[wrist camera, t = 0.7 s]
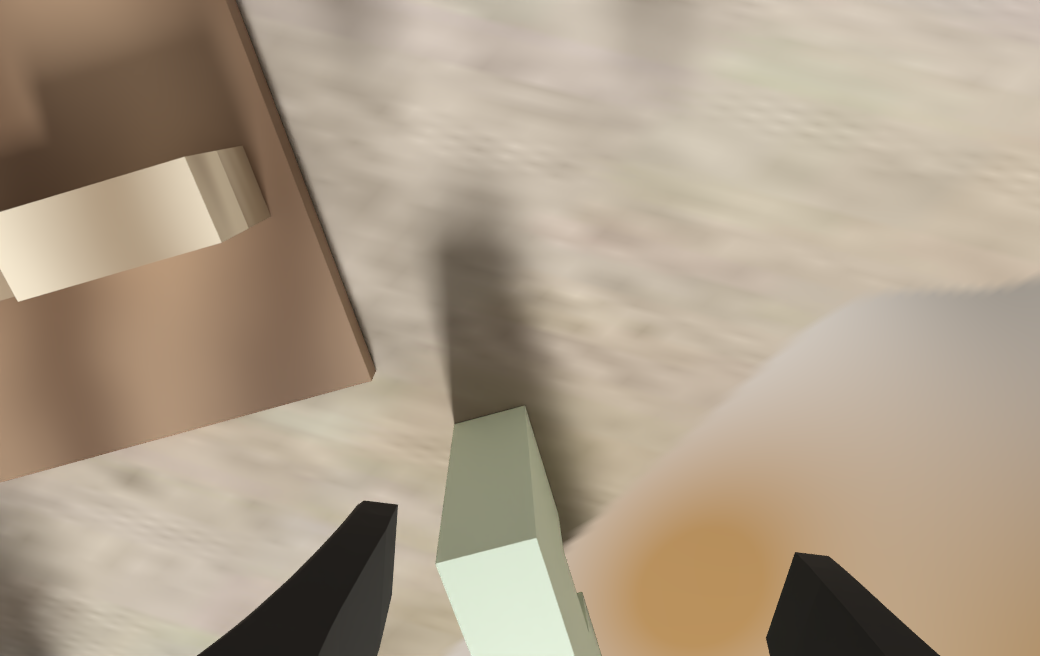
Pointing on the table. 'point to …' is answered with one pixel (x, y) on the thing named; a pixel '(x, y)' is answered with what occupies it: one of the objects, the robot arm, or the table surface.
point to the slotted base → (173, 303)
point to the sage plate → (507, 546)
